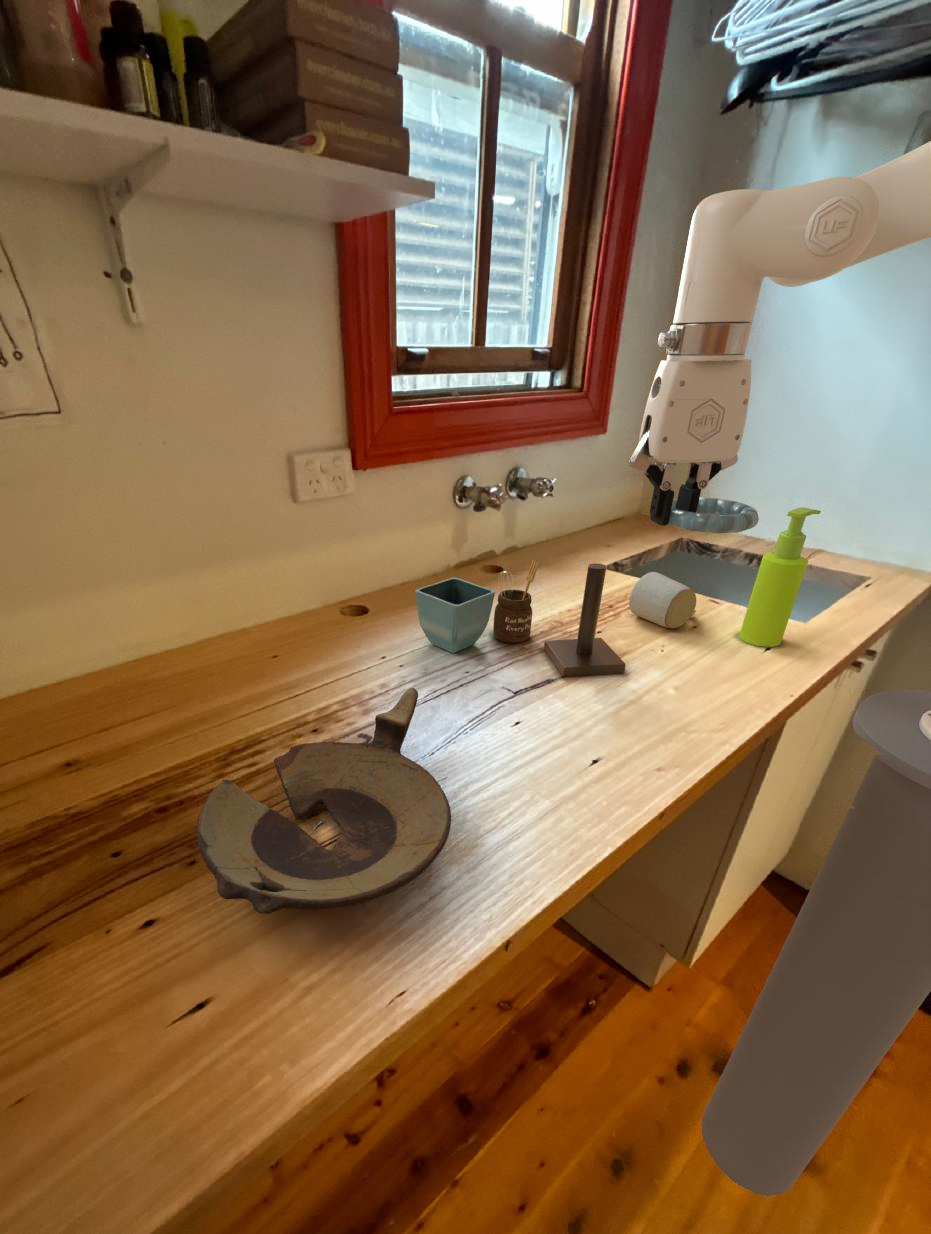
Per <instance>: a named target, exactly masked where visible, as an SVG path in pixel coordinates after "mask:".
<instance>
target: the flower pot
mask: <svg viewBox="0 0 931 1234" xmlns="http://www.w3.org/2000/svg"><path fill="white" fill-rule="evenodd" d="M495 594H496V591H495V590H493V589H490V588H488V587H484V586H481V585H479V584H476V583H473V582H470V581H468V580H464V579H461V578H458V577H450V578H446V579H443V580H441V581H438V582H436V583H435V582H434V583H433V584H429V585H426V586H423V587H420V588H417V589H415V600H416V601H415V602H416V609H417V616H418V621H419V624H420V627H421V630H422V632H423V634H424V635H425V637H426V638H427V640H428V642H429V643H430V644H432V645H434V646H436V647H438V648H440V649H443V650H444V651H447V652H449V653H452V654H456V653H458V652H459V651H462V650H464V649H467V648H469V647H471V646H474V645H475V644H476V643H477V642H478V640H479V639H480V638H481V636H482V635H483V633H484V632H485V630H486V628H487V626H488V623H489V620H490V617H491V613H492V608H493V605H494V604H493V603H494V599H495Z"/></svg>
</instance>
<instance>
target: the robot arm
mask: <svg viewBox="0 0 931 1234" xmlns="http://www.w3.org/2000/svg"><path fill="white" fill-rule="evenodd" d="M929 238H931V140H929V141H927V142H926V143H924V144H922V145H920V146H918V147H916V148H915V149H913V150H911V151H909V152H907V153H904V154H903V155H900V156H899V157H896V158H895V159H892V160H890V161H888V162H886V163H884V164H882V165H879V166H877V167H875V168H873V169H871V170H869V171H866V172H864V173H861V174H860V175H857V176H854V177H852V176H836V177H829V178H824V179H821V180H820V179H819V180H816V181H812V182H807V183H803V184H798V185H794V186H789V187H783V188H778V189H773V190H767V189H763V188H742V189H741V188H740V189H732V190H727V191H722V192H717V193H714V194H713V193H712V194H711V195H709V196H706V197H704V199H702V200H701V201H700V202H699V203H698V205H696V208H695V210H694V212H693V214H692V217H691V223H690V227H689V232H688V237H687V243H686V249H685V254H684V259H683V266H682V271H681V278H680V283H679V288H678V294H677V299H676V305H675V309H674V310H675V311H674V316H673V320H672V324H671V325H670V328H669V330H668V331H667V332H661V333H660V334H659V337H658V340H657V346H658V348H665V349H666V351H665V354H666V359H662V360H660V362H659V365H658V368H657V370H656V372H655V375H654V379H653V381H652V385H651V387H650V390H649V392H648V393H649V394H648V397H647V400H646V405H645V408H644V413H643V417H642V421H641V426H640V431H639V436H638V444H637V446H636V448H635V450H634V452H633V453H632V455H631V457H630V458H629V460H628V466H629V467H631V468H633V469H635V470H637V471H639V472H641V473H643V474H644V476H645V477H646V478H647V480H648V481H649V482H650V485H651V486H652V487H653V491H652V497H651V502H650V508H649V516H650V521H651V522H653V523H655V524H657V525H659V526H661V527H662V526H663V527H664V526H665V527H666V526H667V525H668V522H669V518H670V513H671V508H672V503H673V499H675V491H674V490H673V489H672V486H673V485H672V484H673V481H674V476H675V471H676V468H677V464H681V463H682V464H683V463H684V464H686V463H688V466H687V470H686V471H687V472H686V476H685V484H680V486H679V489H678V495H677V497H676V498H677V503H676V508H677V509H679V510H683V511H688V512H693V513H696V511H697V507H698V502H699V498H700V497H701V493H702V490H705V489H706V488H707V487H708V484H709V482H710V481H712V479H713V478H714V477H715V476H716V475H718V474H719V473H720V472H721V471H724V470H727V469H728V468H730V467H732V466H734V465H735V464H737V463H738V460H739V457H738V453H739V451H740V449H741V445H742V441H743V440H742V439H743V436H744V431H745V428H746V427H745V426H746V422H747V415H748V409H749V403H750V396H751V384H752V359H750V358H749V359H747V358H745V355H746V352H747V347H748V343H749V339H750V335H751V330H752V326H753V322H754V317H755V312H756V310H757V305H758V302H759V301H758V300H759V298H760V297H759V296H760V292H761V289H762V284H763V280H764V278H769V279H770V281H772V282H773V283H775V284H776V285H779V286H782V287H787V288H795V287H801V286H805V285H808V284H811V283H816V282H818V281H822V280H825V279H827V278H828V279H829V278H830V277H832V276H834V275H836V274H838V273H840V272H842V271H843V270H844V269H847V268H850V267H852V266H854V265H858V264H861V263H863V262H865V261H868V260H871V259H874V258H877V257H878V256H881V255H884V254H887V253H890V252H892V251H895V250H898V249H901V248H903V247H906V246H908V245H912V244H915V243H917V242H920V241H923V240H926V239H929ZM649 458H653V459H654V462H653V463H652V462H650V461H649V460H648V459H649ZM919 727H920V730H921V731H922V733H923V734H924V735H925V736H926V737H927V738H928V739H929V740H930V741H931V710H930V711H927V712H926V713H924V714H923V716H922V718H921V719H920V722H919Z"/></svg>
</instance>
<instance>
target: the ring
mask: <svg viewBox="0 0 931 1234" xmlns="http://www.w3.org/2000/svg"><path fill="white" fill-rule="evenodd" d="M677 498H678V497H674V498H673V503H672V508H671V513H670V518H669V522H668V524H667V525H668V526H670V527H672V528H675V529H681V530H685V531H689V532H694V533H695V532H696V533H707V534H734V533H735V534H736V533H742V532H745V531H747V530H750V529H753V528H755V527H756V526H757V525H758V523H759V520H760V519H759V513H758V511H757V509H756V508H755V507H753V506H751V505H748V504H746V503H743V502H739V501H735V500H729V499H725V498H719V497H718V498H716V497H702V496H700V498H699V502H698V507H697V511H696V513H693V512H688V511H683V510H679V509H677V508H676V503H677Z"/></svg>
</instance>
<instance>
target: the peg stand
mask: <svg viewBox="0 0 931 1234" xmlns="http://www.w3.org/2000/svg"><path fill="white" fill-rule="evenodd" d="M586 571H587V572H586V578H585V586H584V591H583V599H582V604H581V605H582V606H581V610H580V611H581V612H580V618H579V625H578V631H577V638H572V639H554V640H553V639H552V640H544V643H543V644H544V645H543V651H544V652H545V653H546V655H547V656H548V658H549V659H550V661H551V662H552V663H553V665H554V666H555V668H556V669H557V671H558V672H559V674H560V675H561V676H562V677H563V678H568V677H569V678H570V677H571V678H572V677H583V676H584V677H586V676H601V675H619V674H625V669H626V662H624V661H623V660H622V658H621V657H620V656H619V655H618V653H616V652H615V651H614V650H613V648H611V647H610V645H609V644H608V643H607V642H606V641H605V640H604V639H603V638H602V637H596V632H597V628H598V627H597V626H598V620H599V615H600V608H601V602H602V598H603V590H604V585H605V579H606V572H607V566H606V565H605V564H603V563H595V562H594V563H589V564H588V565H587V570H586Z"/></svg>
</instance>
